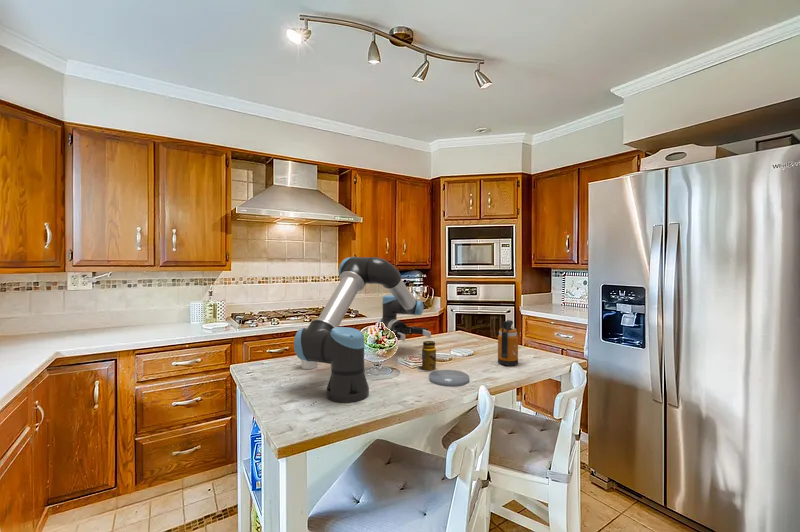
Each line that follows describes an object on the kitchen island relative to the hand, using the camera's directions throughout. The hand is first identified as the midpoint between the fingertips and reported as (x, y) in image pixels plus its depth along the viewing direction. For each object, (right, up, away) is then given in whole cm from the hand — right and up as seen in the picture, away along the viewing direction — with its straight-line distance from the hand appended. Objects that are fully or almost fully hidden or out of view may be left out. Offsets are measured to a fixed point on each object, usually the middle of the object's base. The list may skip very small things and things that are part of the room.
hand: (417, 336), depth 173 cm
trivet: (+12, -13, -22) cm, 28 cm away
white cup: (-48, -13, -6) cm, 51 cm away
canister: (+41, -13, 0) cm, 43 cm away
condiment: (+4, -13, -8) cm, 16 cm away
